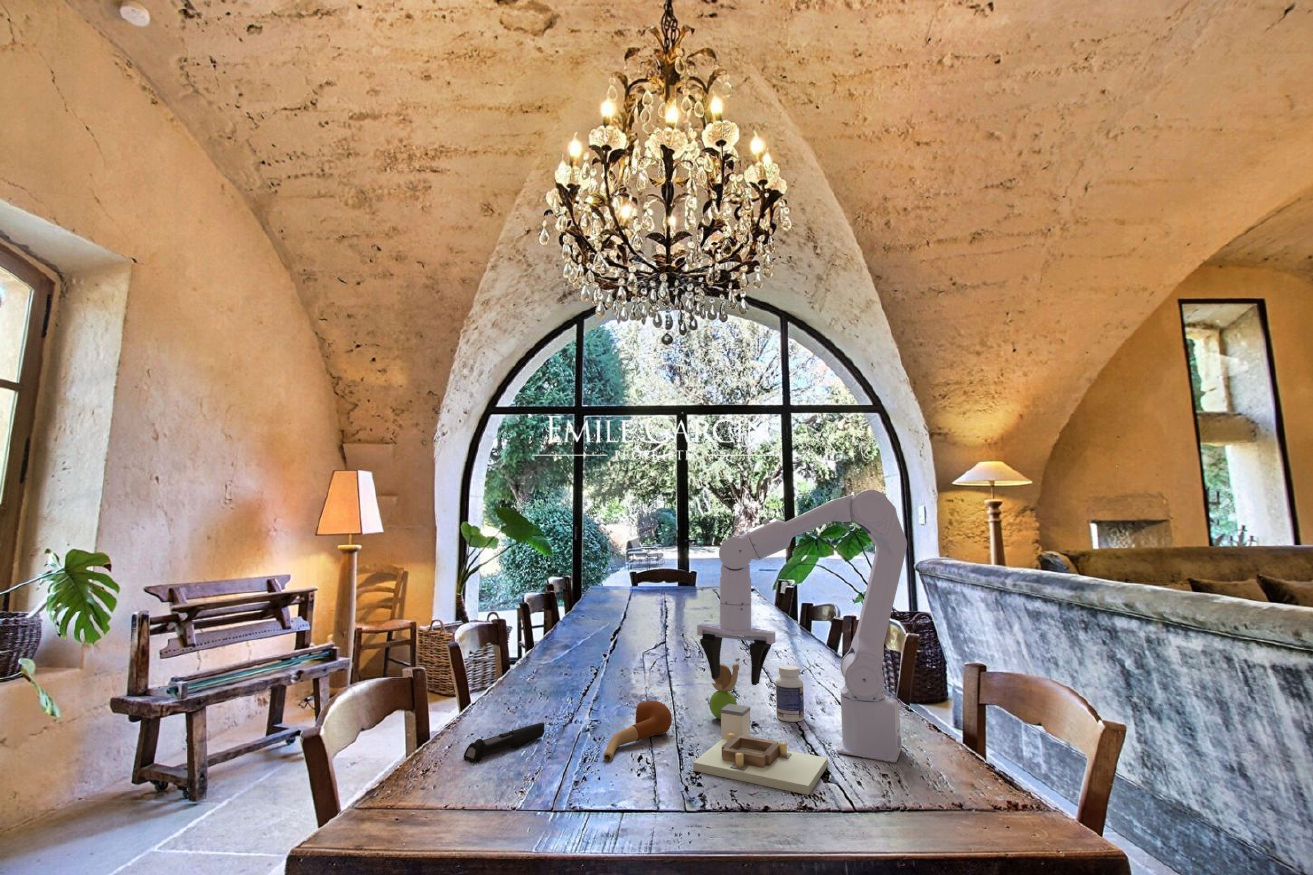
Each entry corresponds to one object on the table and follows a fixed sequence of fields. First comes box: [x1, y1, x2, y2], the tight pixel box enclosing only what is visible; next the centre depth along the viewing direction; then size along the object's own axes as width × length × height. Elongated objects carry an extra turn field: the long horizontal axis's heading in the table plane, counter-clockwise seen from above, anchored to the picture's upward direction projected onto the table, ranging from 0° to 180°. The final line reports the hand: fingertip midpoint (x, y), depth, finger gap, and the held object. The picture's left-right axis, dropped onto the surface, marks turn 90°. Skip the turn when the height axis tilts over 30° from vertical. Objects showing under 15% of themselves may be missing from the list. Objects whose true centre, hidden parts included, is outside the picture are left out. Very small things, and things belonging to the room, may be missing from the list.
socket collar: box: [722, 735, 779, 768], centre depth 97 cm, size 8×8×2 cm
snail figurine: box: [708, 657, 741, 720], centre depth 120 cm, size 5×6×12 cm
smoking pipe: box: [602, 700, 673, 762], centre depth 106 cm, size 7×18×6 cm, turn 157°
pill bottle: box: [775, 664, 805, 723], centre depth 121 cm, size 5×5×10 cm
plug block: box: [720, 704, 751, 740], centre depth 108 cm, size 4×4×6 cm
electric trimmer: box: [463, 722, 545, 764], centre depth 103 cm, size 4×15×3 cm, turn 139°
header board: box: [692, 733, 829, 796], centre depth 95 cm, size 18×12×3 cm, turn 62°
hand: (735, 680), depth 109 cm, fingers open, 7 cm apart
